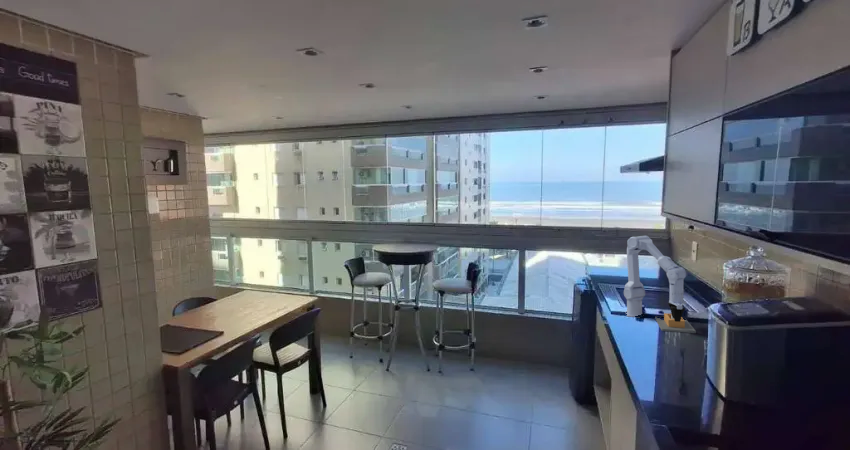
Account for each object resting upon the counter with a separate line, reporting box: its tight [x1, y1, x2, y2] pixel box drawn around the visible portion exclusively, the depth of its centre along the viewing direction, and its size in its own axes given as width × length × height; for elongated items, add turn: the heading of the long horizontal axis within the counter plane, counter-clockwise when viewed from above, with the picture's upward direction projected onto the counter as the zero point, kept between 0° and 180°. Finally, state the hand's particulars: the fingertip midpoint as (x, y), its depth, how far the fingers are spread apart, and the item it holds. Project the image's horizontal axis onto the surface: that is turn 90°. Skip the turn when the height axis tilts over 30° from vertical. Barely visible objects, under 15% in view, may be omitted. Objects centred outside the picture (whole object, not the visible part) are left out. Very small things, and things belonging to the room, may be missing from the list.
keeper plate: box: [654, 313, 697, 334], centre depth 198 cm, size 20×14×6 cm
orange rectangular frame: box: [663, 312, 685, 328], centre depth 198 cm, size 11×7×4 cm, turn 159°
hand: (676, 319), depth 194 cm, fingers open, 5 cm apart
